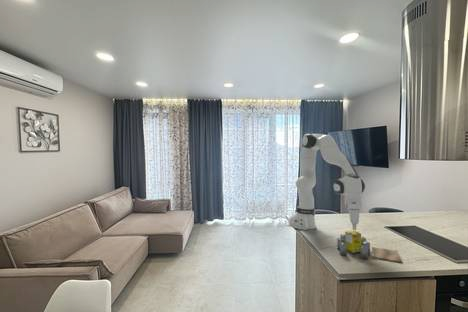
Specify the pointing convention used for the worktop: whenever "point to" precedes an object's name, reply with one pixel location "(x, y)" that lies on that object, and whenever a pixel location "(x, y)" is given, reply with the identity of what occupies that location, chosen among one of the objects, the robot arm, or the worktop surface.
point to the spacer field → (363, 248)
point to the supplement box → (353, 241)
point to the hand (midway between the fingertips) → (354, 227)
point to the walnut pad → (386, 255)
